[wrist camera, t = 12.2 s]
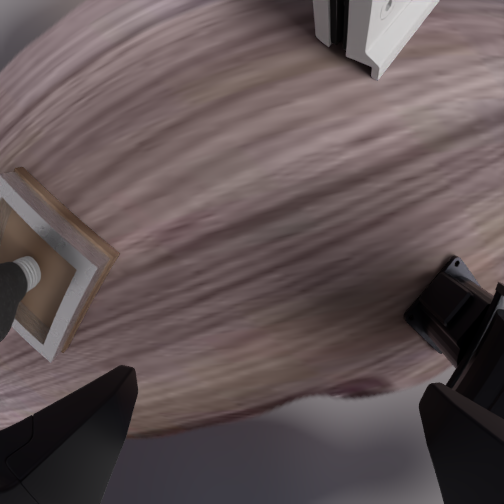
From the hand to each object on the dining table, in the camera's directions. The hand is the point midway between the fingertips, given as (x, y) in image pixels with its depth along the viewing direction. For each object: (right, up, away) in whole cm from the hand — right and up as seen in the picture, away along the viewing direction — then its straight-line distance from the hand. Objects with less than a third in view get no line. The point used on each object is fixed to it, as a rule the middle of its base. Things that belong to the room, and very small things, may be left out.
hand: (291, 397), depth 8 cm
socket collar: (-18, +3, +13) cm, 23 cm away
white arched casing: (+9, +24, +7) cm, 26 cm away
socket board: (-18, +3, +13) cm, 23 cm away
